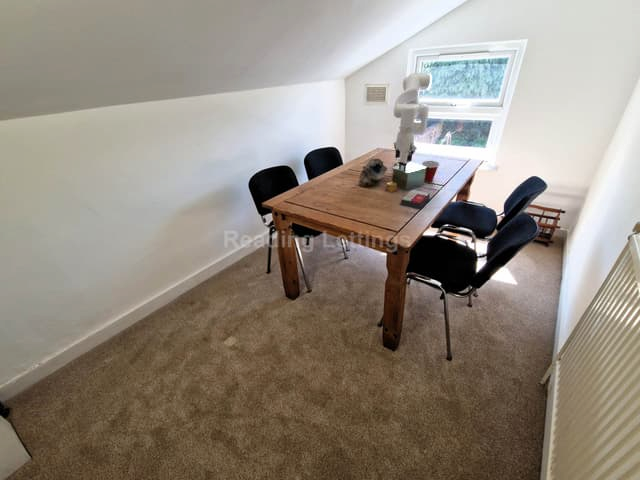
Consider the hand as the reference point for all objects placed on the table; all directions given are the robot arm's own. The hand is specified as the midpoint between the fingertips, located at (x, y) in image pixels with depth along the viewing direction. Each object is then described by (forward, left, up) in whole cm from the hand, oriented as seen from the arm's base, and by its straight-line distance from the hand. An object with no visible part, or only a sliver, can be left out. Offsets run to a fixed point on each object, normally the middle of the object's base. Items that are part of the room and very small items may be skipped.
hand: (403, 159), depth 171 cm
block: (0, -8, -18) cm, 20 cm away
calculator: (+21, -9, -18) cm, 29 cm away
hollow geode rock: (-19, -6, -18) cm, 27 cm away
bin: (0, +7, -18) cm, 19 cm away
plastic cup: (+3, +22, -18) cm, 29 cm away
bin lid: (0, +6, -7) cm, 10 cm away
